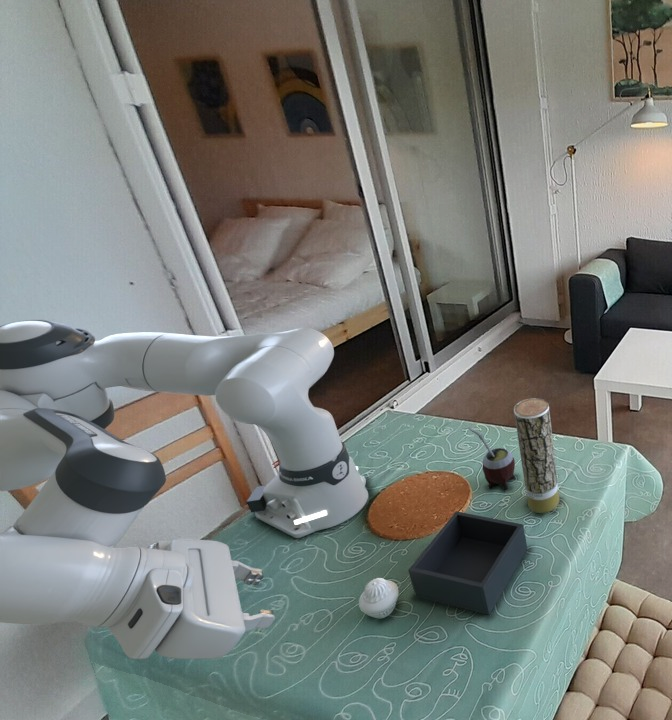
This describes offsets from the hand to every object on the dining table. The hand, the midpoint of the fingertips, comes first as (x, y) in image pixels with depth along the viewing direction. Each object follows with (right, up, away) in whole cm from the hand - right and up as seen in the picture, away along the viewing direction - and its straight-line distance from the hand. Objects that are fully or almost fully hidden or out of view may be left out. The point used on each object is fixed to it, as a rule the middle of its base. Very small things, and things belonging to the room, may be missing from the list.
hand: (265, 597), depth 72 cm
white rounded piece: (+10, -9, +14) cm, 20 cm away
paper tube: (+33, +3, +37) cm, 50 cm away
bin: (+23, -5, +21) cm, 32 cm away
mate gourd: (+22, +6, +44) cm, 49 cm away
